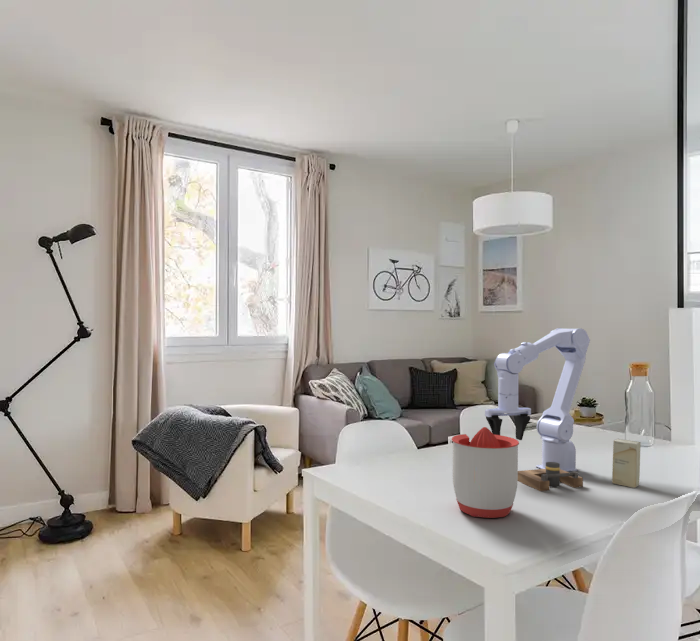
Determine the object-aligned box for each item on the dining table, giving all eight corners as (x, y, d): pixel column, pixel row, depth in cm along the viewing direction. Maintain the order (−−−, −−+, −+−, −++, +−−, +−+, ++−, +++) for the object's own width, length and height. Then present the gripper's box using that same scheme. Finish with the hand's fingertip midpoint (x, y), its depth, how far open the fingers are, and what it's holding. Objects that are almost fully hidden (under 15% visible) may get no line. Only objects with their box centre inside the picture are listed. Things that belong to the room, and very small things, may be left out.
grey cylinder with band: (557, 483, 155) (557, 461, 155) (561, 487, 151) (561, 465, 151) (543, 483, 155) (543, 461, 155) (547, 486, 151) (548, 464, 151)
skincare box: (611, 483, 154) (612, 440, 155) (616, 480, 158) (616, 438, 158) (636, 488, 150) (636, 443, 150) (640, 485, 154) (640, 441, 154)
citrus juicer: (504, 498, 141) (504, 420, 141) (528, 522, 123) (529, 433, 124) (443, 498, 140) (444, 419, 140) (459, 523, 123) (460, 433, 123)
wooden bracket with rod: (556, 476, 162) (556, 462, 162) (582, 486, 151) (582, 472, 151) (515, 479, 157) (515, 466, 157) (539, 491, 147) (540, 476, 147)
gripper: (521, 391, 168) (520, 436, 168) (479, 393, 164) (479, 438, 163) (535, 394, 161) (535, 440, 161) (492, 396, 157) (492, 443, 157)
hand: (507, 440), depth 162 cm, fingers open, 7 cm apart
